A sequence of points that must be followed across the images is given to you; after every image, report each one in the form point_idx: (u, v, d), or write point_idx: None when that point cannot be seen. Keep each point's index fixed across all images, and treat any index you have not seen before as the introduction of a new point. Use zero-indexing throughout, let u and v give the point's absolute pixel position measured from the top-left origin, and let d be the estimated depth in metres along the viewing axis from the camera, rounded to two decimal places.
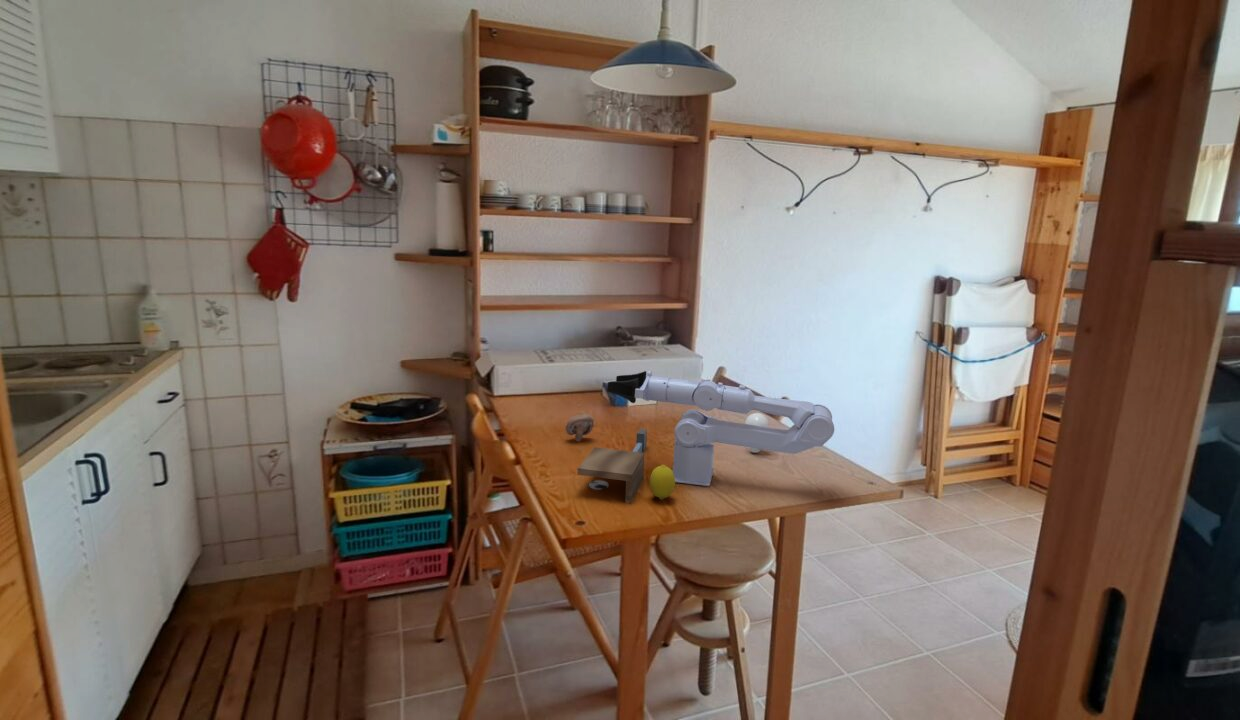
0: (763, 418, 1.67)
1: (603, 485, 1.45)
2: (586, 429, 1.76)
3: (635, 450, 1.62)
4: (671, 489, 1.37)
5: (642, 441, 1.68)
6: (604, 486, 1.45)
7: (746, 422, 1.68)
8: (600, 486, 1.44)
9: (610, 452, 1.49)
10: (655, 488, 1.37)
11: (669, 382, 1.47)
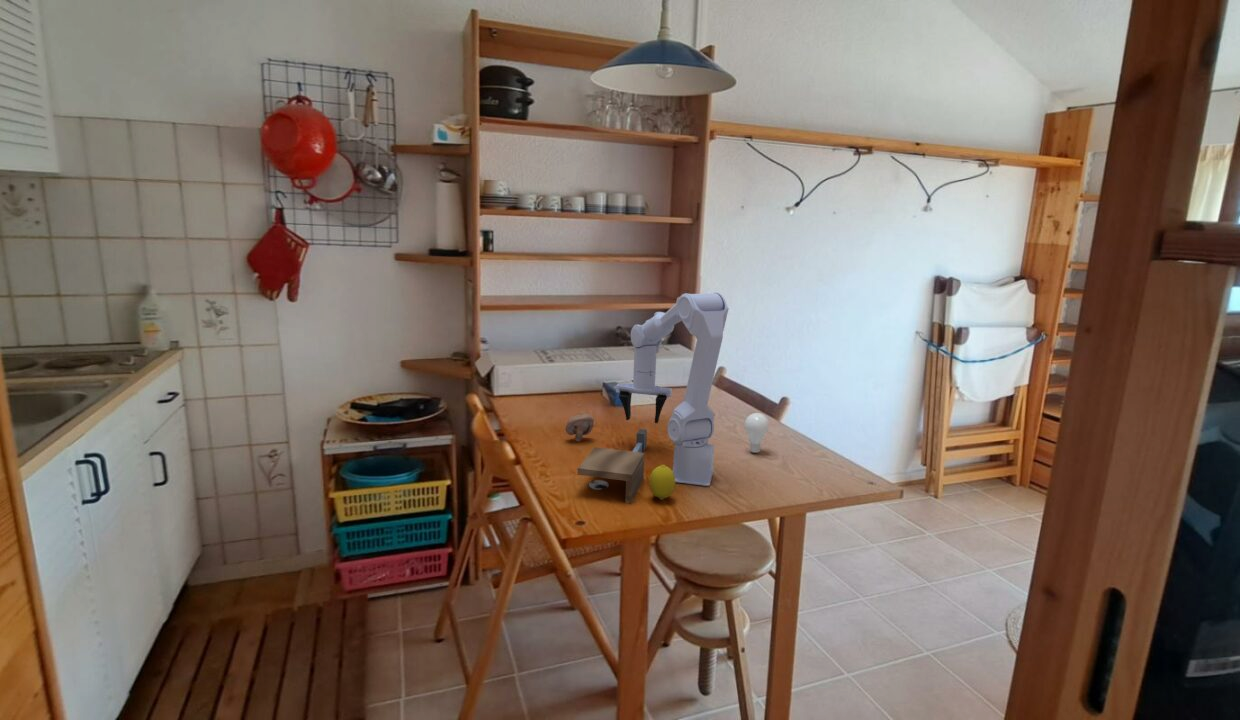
0: (763, 418, 1.67)
1: (603, 485, 1.45)
2: (586, 429, 1.76)
3: (635, 450, 1.62)
4: (671, 489, 1.37)
5: (642, 441, 1.68)
6: (604, 486, 1.45)
7: (746, 422, 1.68)
8: (600, 486, 1.44)
9: (610, 452, 1.49)
10: (655, 488, 1.37)
11: None
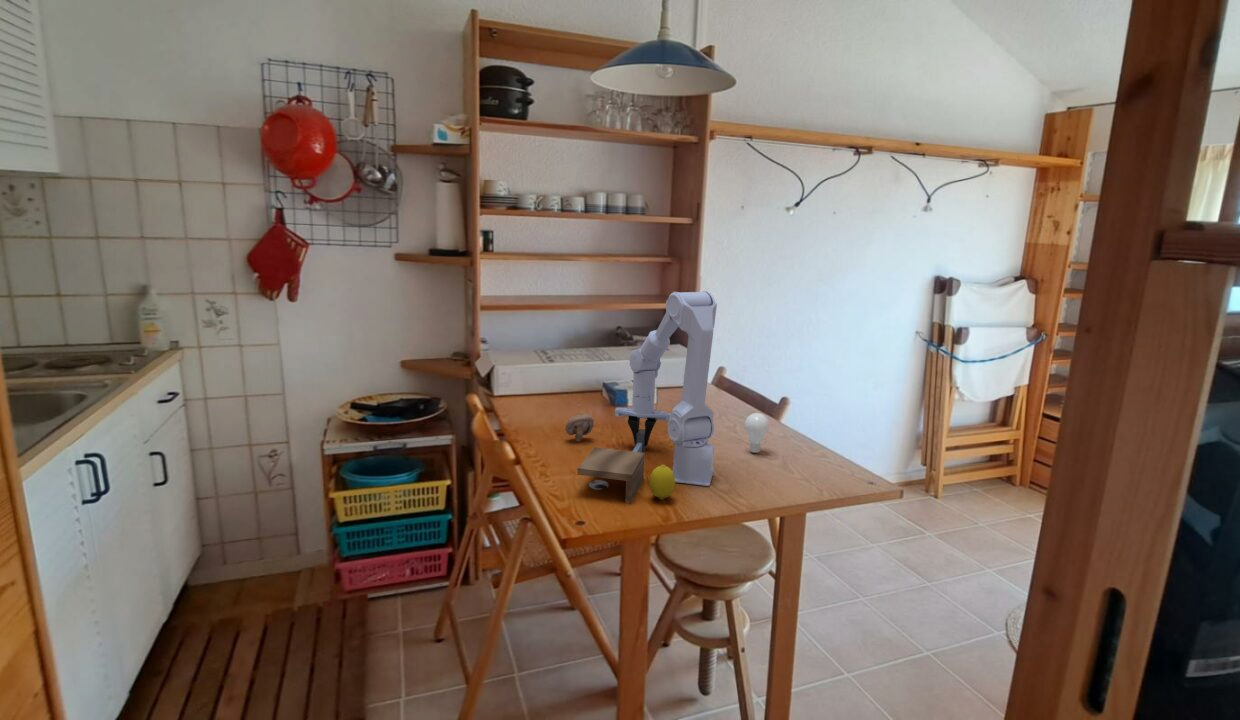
0: (763, 418, 1.67)
1: (603, 485, 1.45)
2: (586, 429, 1.76)
3: (635, 450, 1.62)
4: (671, 489, 1.37)
5: (642, 441, 1.68)
6: (604, 486, 1.45)
7: (746, 422, 1.68)
8: (600, 486, 1.44)
9: (610, 452, 1.49)
10: (655, 488, 1.37)
11: None
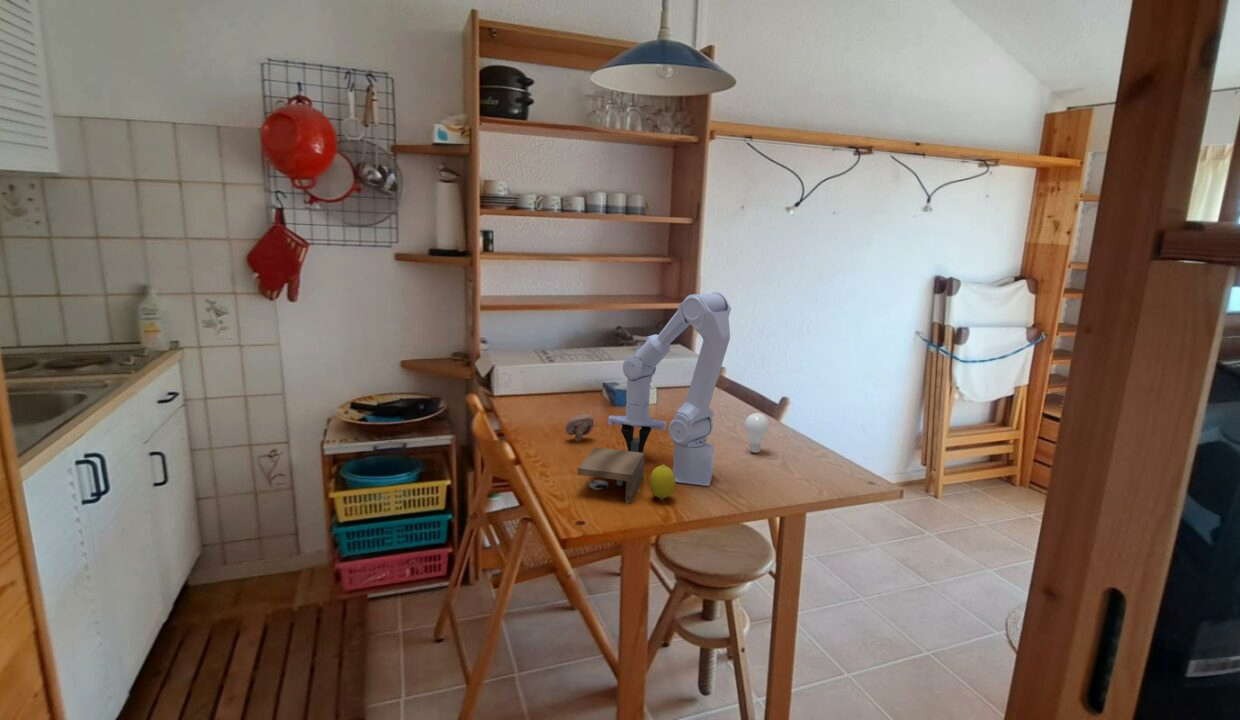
0: (763, 418, 1.67)
1: (603, 485, 1.45)
2: (586, 429, 1.76)
3: None
4: (671, 489, 1.37)
5: (637, 450, 1.61)
6: (604, 486, 1.45)
7: (746, 422, 1.68)
8: (600, 486, 1.44)
9: (610, 452, 1.49)
10: (655, 488, 1.37)
11: None
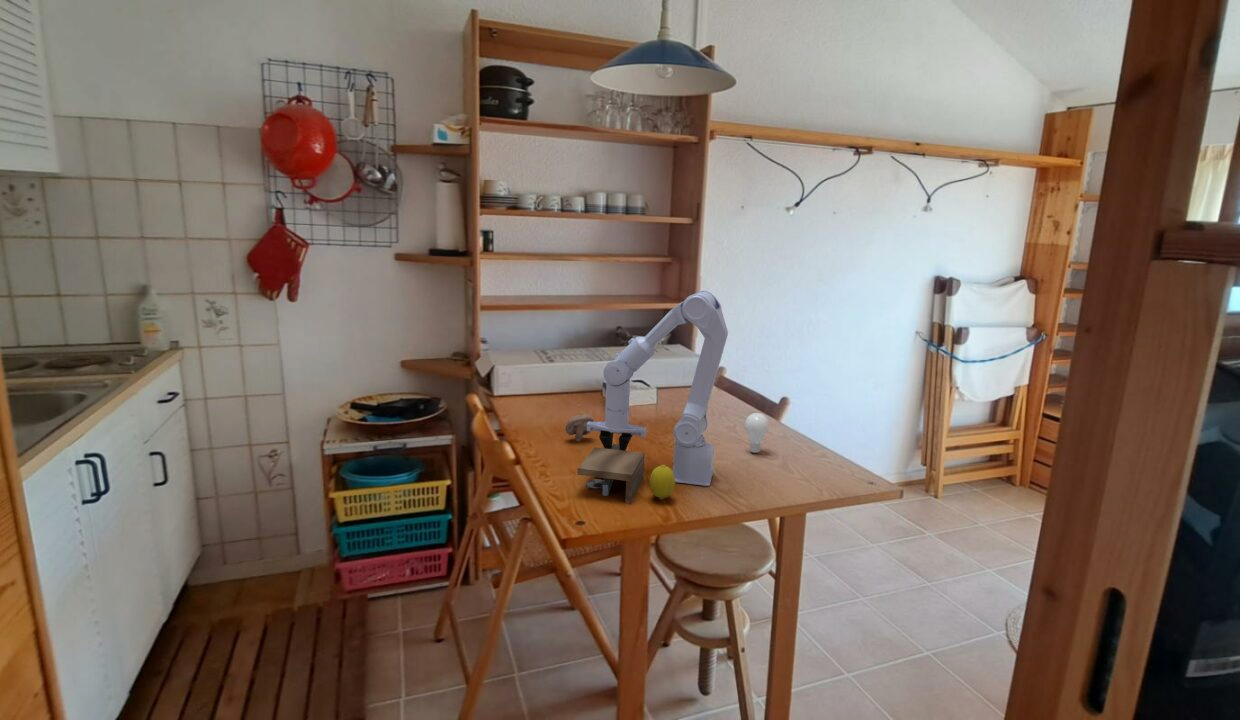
0: (763, 418, 1.67)
1: (600, 484, 1.45)
2: (586, 429, 1.76)
3: None
4: (671, 489, 1.37)
5: None
6: (601, 485, 1.45)
7: (746, 422, 1.68)
8: (597, 485, 1.44)
9: (610, 452, 1.49)
10: (655, 488, 1.37)
11: (606, 407, 1.53)
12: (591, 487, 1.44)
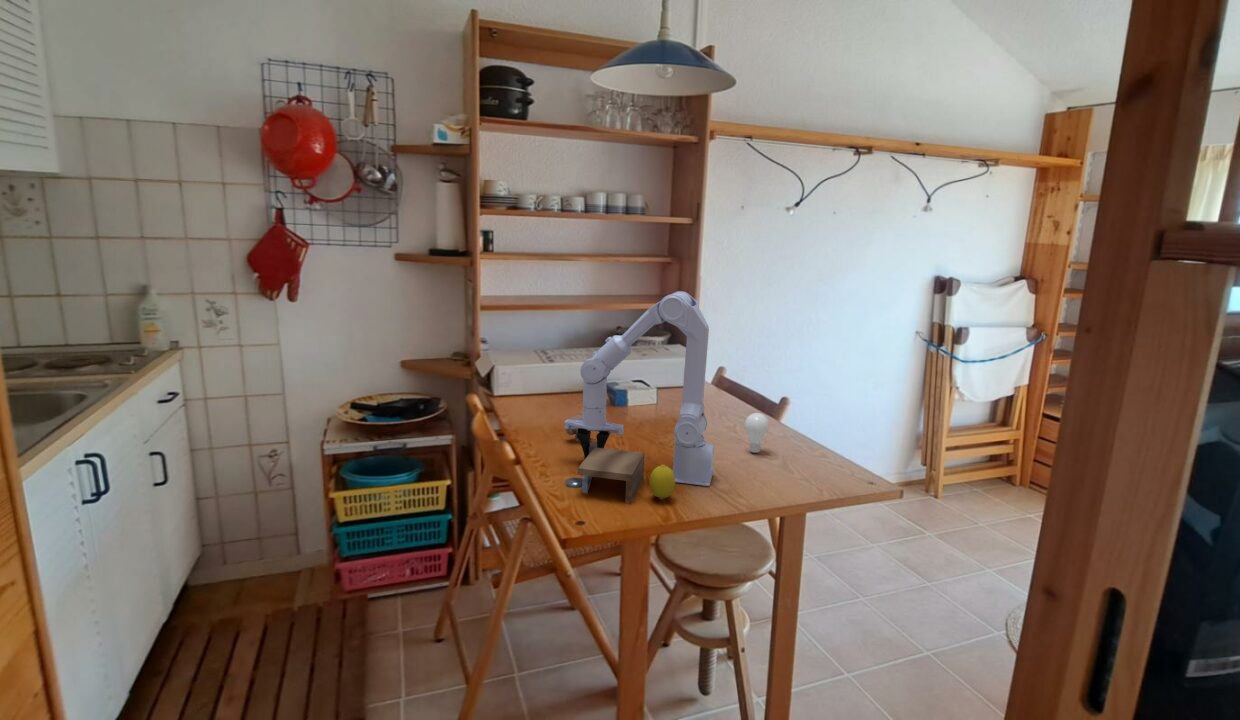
0: (763, 418, 1.67)
1: (579, 482, 1.46)
2: None
3: None
4: (671, 489, 1.37)
5: None
6: (580, 483, 1.45)
7: (746, 422, 1.68)
8: (576, 483, 1.45)
9: (610, 452, 1.49)
10: (655, 488, 1.37)
11: (583, 405, 1.55)
12: (570, 486, 1.44)
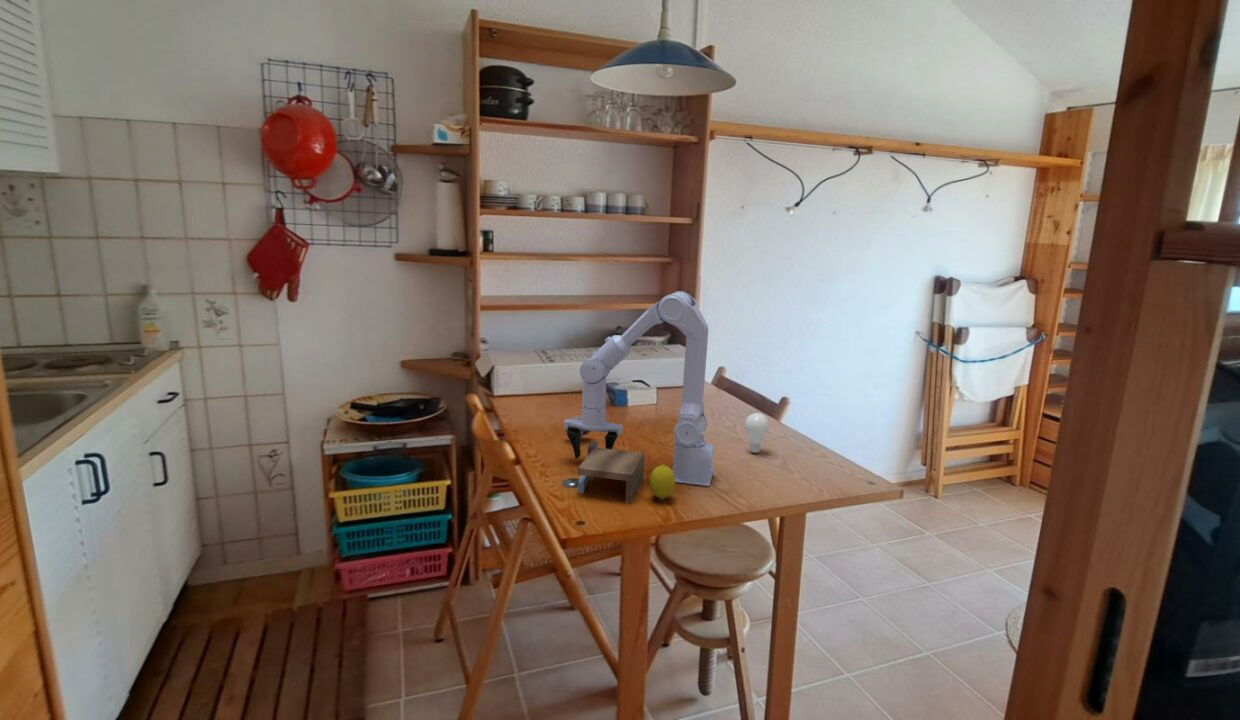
0: (763, 418, 1.67)
1: (576, 483, 1.46)
2: None
3: None
4: (671, 489, 1.37)
5: None
6: (577, 484, 1.45)
7: (746, 422, 1.68)
8: (573, 484, 1.45)
9: (610, 452, 1.49)
10: (655, 488, 1.37)
11: (582, 404, 1.55)
12: (567, 486, 1.44)
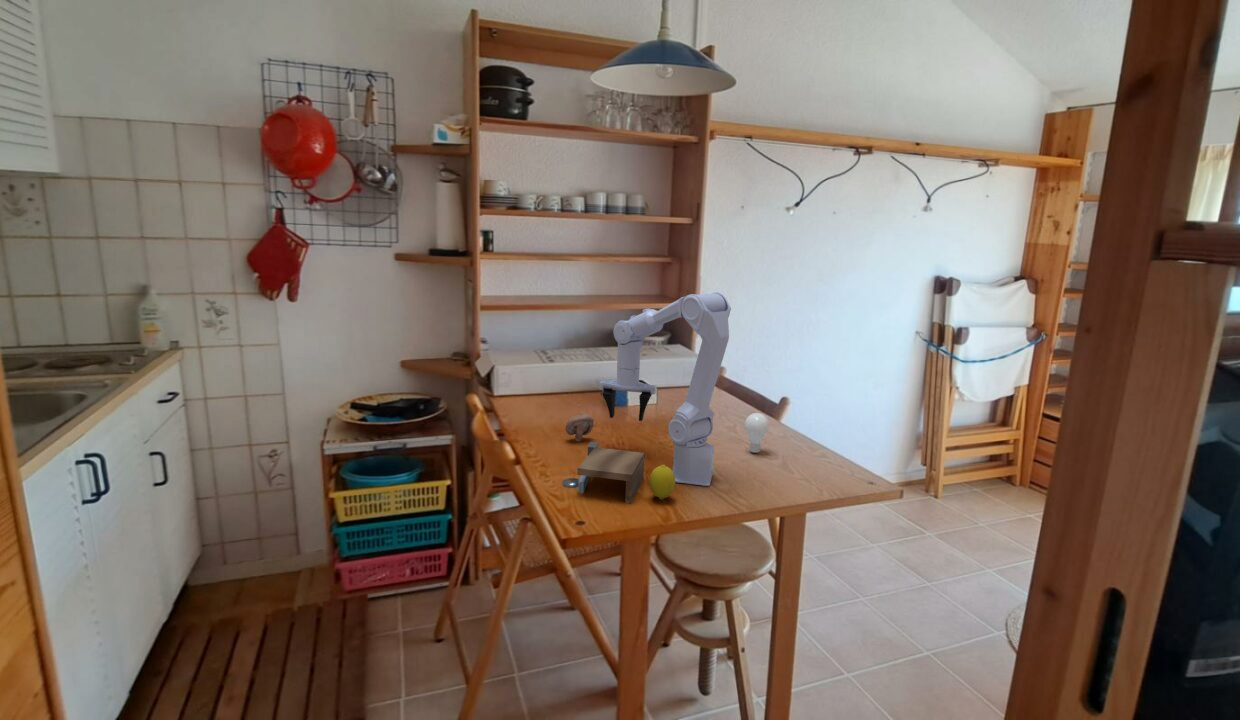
0: (763, 418, 1.67)
1: (576, 483, 1.46)
2: (586, 429, 1.76)
3: None
4: (671, 489, 1.37)
5: None
6: (577, 484, 1.45)
7: (746, 422, 1.68)
8: (573, 484, 1.45)
9: (610, 452, 1.49)
10: (655, 488, 1.37)
11: None
12: (567, 486, 1.44)
